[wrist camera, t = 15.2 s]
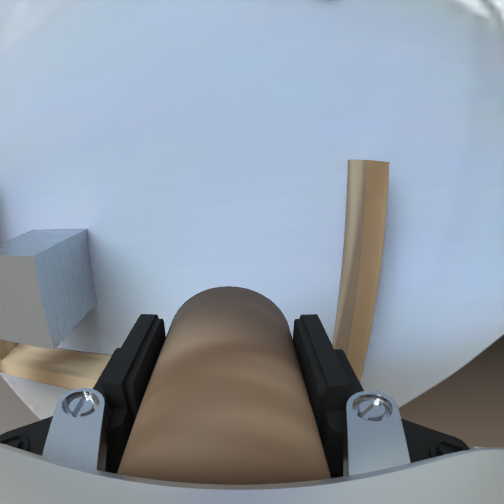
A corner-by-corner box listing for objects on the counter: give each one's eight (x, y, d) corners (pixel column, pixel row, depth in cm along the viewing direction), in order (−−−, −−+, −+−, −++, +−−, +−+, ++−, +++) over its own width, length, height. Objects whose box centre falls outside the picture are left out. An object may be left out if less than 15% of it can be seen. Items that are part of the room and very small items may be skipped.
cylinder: (293, 286, 11) (358, 444, 4) (286, 387, 12) (317, 542, 5) (163, 285, 11) (82, 438, 4) (176, 387, 12) (142, 540, 5)
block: (87, 228, 18) (33, 255, 12) (96, 303, 20) (54, 349, 14) (33, 229, 18) (-24, 254, 12) (44, 298, 19) (-3, 338, 14)
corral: (367, 161, 17) (389, 162, 14) (344, 372, 21) (356, 398, 18) (-19, 179, 17) (-46, 184, 14) (14, 352, 21) (-4, 370, 18)
